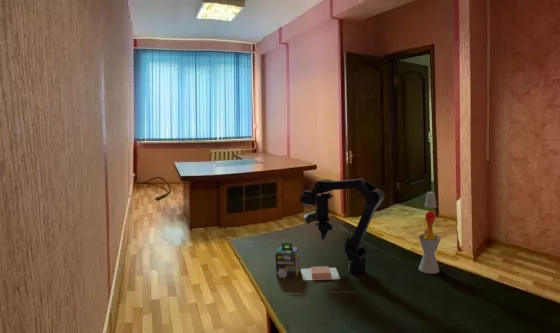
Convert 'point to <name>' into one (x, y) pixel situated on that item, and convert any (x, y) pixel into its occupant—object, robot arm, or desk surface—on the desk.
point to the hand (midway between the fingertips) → (322, 239)
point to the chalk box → (287, 261)
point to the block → (320, 272)
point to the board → (307, 276)
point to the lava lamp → (429, 239)
